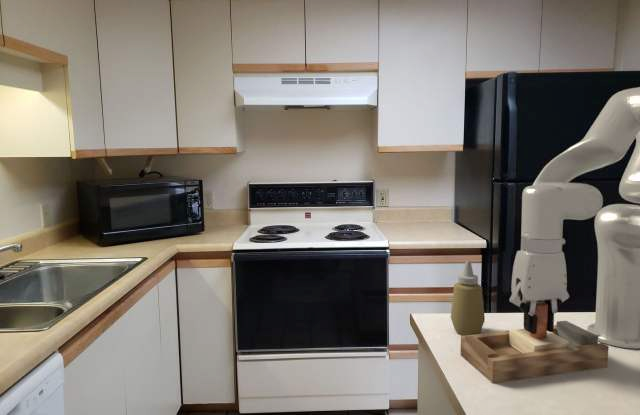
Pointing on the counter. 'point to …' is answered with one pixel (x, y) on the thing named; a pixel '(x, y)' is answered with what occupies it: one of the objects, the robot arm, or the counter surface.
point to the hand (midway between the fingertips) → (538, 329)
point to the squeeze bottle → (467, 303)
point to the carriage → (537, 335)
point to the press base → (533, 354)
